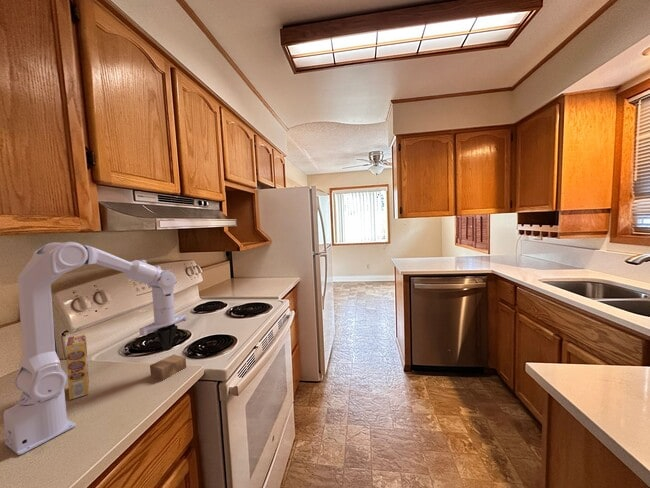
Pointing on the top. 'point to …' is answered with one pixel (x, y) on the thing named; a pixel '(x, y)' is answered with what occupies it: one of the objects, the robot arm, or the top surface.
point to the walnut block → (167, 367)
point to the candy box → (77, 366)
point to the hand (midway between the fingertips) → (167, 349)
